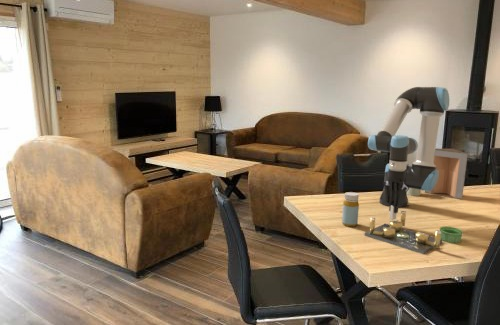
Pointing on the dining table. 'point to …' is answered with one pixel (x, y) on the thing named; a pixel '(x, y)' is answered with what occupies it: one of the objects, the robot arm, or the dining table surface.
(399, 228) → the knob
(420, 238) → the knob
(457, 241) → the ramekin
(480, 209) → the dining table surface
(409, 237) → the control panel
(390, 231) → the knob
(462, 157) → the cabinet
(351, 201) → the bottle
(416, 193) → the can
